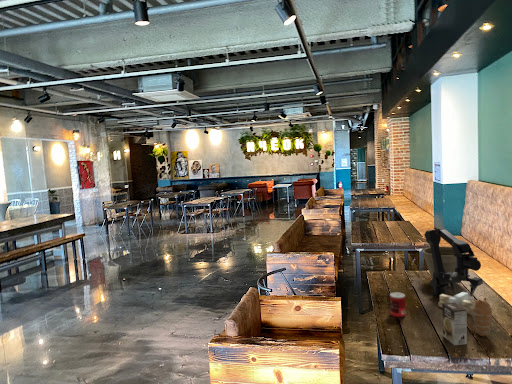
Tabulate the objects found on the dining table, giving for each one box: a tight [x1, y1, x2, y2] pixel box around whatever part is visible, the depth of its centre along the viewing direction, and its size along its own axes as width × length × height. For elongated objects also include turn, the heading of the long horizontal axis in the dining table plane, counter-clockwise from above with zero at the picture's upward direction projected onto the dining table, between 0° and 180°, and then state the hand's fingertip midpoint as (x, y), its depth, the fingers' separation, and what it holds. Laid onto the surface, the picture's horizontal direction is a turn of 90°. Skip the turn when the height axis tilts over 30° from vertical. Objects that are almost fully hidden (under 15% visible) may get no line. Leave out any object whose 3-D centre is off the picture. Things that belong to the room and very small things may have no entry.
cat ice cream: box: [472, 296, 493, 337], centre depth 178 cm, size 9×8×18 cm
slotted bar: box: [449, 291, 469, 305], centre depth 208 cm, size 14×3×8 cm, turn 125°
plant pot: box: [422, 246, 467, 288], centre depth 250 cm, size 25×25×22 cm
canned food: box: [389, 291, 407, 318], centre depth 207 cm, size 8×8×11 cm
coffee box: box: [441, 302, 468, 346], centre depth 176 cm, size 9×6×16 cm
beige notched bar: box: [437, 294, 476, 317], centre depth 208 cm, size 20×6×6 cm, turn 35°
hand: (462, 294), depth 210 cm, fingers open, 9 cm apart
